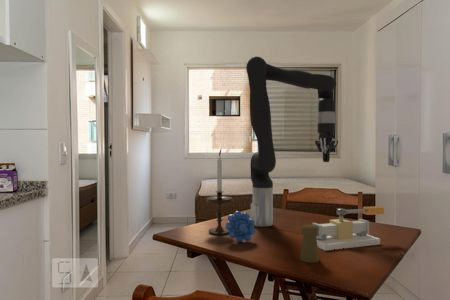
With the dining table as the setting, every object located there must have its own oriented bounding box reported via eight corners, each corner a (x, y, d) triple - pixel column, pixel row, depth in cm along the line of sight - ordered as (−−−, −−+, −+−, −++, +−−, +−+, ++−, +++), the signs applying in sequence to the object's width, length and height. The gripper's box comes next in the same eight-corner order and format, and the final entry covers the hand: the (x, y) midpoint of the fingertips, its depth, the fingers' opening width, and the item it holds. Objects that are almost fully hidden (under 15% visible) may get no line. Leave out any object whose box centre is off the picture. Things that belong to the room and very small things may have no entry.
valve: (324, 250, 121) (325, 221, 121) (303, 240, 135) (303, 213, 134) (380, 244, 129) (380, 216, 129) (354, 234, 143) (354, 209, 142)
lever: (335, 214, 133) (335, 207, 133) (378, 212, 137) (379, 206, 136) (339, 216, 130) (339, 209, 130) (384, 214, 133) (384, 207, 133)
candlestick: (227, 228, 152) (227, 148, 152) (236, 234, 142) (236, 148, 141) (203, 230, 149) (203, 148, 148) (210, 236, 139) (210, 148, 138)
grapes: (228, 246, 126) (228, 213, 126) (224, 241, 132) (224, 210, 132) (259, 244, 129) (259, 212, 128) (253, 239, 135) (253, 208, 135)
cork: (297, 256, 115) (297, 223, 115) (315, 256, 116) (315, 223, 116) (303, 262, 109) (303, 227, 109) (322, 262, 110) (322, 227, 110)
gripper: (343, 122, 149) (343, 162, 149) (323, 123, 161) (322, 161, 161) (329, 121, 146) (329, 163, 146) (309, 123, 158) (309, 161, 158)
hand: (326, 161), depth 154 cm, fingers closed
